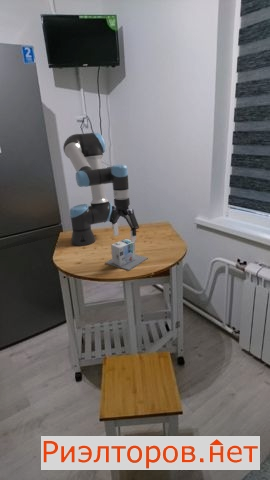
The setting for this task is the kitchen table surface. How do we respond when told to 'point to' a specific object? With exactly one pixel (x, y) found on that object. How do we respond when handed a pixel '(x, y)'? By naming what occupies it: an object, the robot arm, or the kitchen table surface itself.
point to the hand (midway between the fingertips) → (124, 238)
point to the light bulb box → (123, 252)
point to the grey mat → (129, 265)
